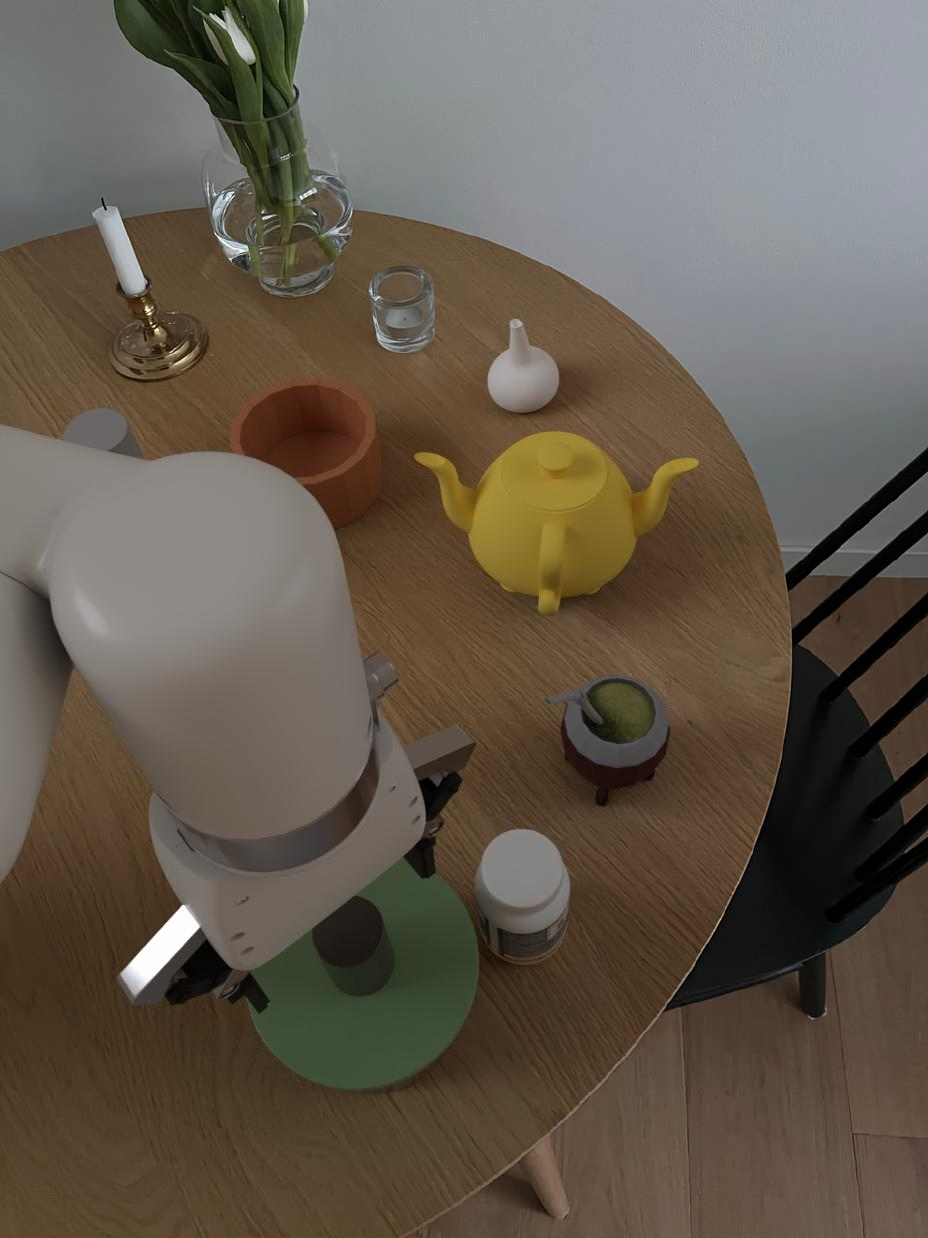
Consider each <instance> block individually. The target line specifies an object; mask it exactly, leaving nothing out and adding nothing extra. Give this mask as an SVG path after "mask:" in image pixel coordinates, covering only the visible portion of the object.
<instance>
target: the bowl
mask: <svg viewBox="0 0 928 1238" xmlns="http://www.w3.org/2000/svg"><path fill="white" fill-rule="evenodd" d="M230 431H231V432H230V440H229V447H230V450H231V453H236V454H240V455H243V456H247V457H251V458H255V459H258V460H260V461H263V462H265V463H267V464H270V465H272V466H274V467H277V468H279V469H280V470H282V471H284V472H285V473H287V474H288V475H290V476H291V477H293V478H294V479H296V480H297V481H298V482H299V483H300V484H301V485H302V486H303V487H304V488H305V489H306V490H307V491H308V492H309V493H310V494H312V495H313V496H314V498H315V499H316V500H317V501H318V503H319V504H320V506H321V507H322V509H323V510H324V512H325V513H326V515H327V517H328V519H329V520H330V522H331V524H332V527H333V529H334V530H335V529H338V528H341V527H343V526H345V525H348V524H349V523H352V522H353V521H355V520H356V519H358V518H359V517H361V516H362V515H364V513H365V512H366V511H368V510H369V509H370V508H371V506H372V505H373V504H374V503H375V501H376V499H378V496H379V495H380V492H381V490H382V486H383V482H384V467H383V466H384V460H383V453H382V447H381V440H380V434H379V428H378V422H377V415H376V413H375V411H374V410H373V408H372V406H371V404H370V403H369V401H368V400H367V398H366V397H365V395H363V394H362V393H360V392H358V391H357V390H356V389H354V388H353V387H351V386H350V385H348V384H347V383H345V382H340V381H336V380H331V379H326V378H323V377H309V378H293V379H290V380H286V381H284V382H281V383H277V384H275V385H272V386H270V387H267V388H265V389H263V390H262V391H260V393H258V394H257V395H255V396H253V398H251V399H250V400H248V401H247V402H246V403H244V405H243V406H242V407H241V408H240V411H239V412H238V414H237V415H236V417H235V418H234V420H233V421H232V424H231V430H230Z"/></svg>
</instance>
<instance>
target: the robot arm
mask: <svg viewBox="0 0 928 1238" xmlns="http://www.w3.org/2000/svg"><path fill="white" fill-rule="evenodd" d="M75 669H77V671H78V672H79V674H80V675H81V677H82V679H83V680H84V682H85V684H86V685H87V687H88V688H89V690H90V691H91V693H92V695H93V697H94V698H95V699H96V701H97V702H98V705H100V707H101V709H102V710H103V712H104V714H105V715H106V717H107V718H108V720H109V721H110V723H111V724H112V726H113V727H114V729H115V731H116V732H117V734H118V735H119V737H120V738H121V740H122V741H123V743H124V745H125V747H126V748H127V750H128V751H129V753H130V754H131V756H132V758H133V759H134V761H135V762H136V764H137V765H138V767H139V768H140V770H141V771H142V773H143V775H144V777H145V778H146V780H147V781H148V783H149V784H150V786H151V788H152V789H153V792H152V794H151V795H150V798H149V805H148V825H149V831H150V838H151V841H152V846H153V849H154V852H155V855H156V857H157V860H158V863H159V866H160V867H161V870H162V871H163V874H164V876H165V878H166V880H167V882H168V883H169V886H170V887H171V889H172V890H173V892H174V894H175V896H176V898H177V899H178V900H179V903H180V904H181V906H180V907H179V908H178V909H177V911H176V912H174V914H173V915H172V916H171V917H170V918H169V919H168V920H167V922H166V923H165V924H163V926H162V927H161V928H160V929H159V930H158V931H157V932H156V934H155V935H154V936H153V937H152V938H151V939H150V940H149V941H148V942H147V943H146V944H145V945H144V946H143V948H142V949H141V950H140V951H139V952H138V953H137V954H136V955H135V957H133V959H132V960H131V961H130V962H129V963H128V964H127V965H126V967H125V968H123V970H121V972H119V974H118V976H116V982H117V983H118V986H120V988H121V990H122V992H123V993H124V994H125V996H126V998H127V999H128V1001H129V1002H130V1004H131V1005H132V1006H133V1007H137V1006H145V1005H153V1004H160V1002H161V1001H162V1000H166V1001H167V1002H168V1004H169V1005H170V1006H176V1005H183V1004H185V1003H187V1002H188V1001H190V1000H194V999H196V998H198V997H201V996H204V995H206V994H208V993H211V994H212V996H213V997H214V998H215V1000H216V1001H218V1002H221V1001H224V1000H227V1001H228V1002H229V1003H230V1004H231V1005H235V1004H236V1003H237V1002H238V1001H239V1000H241V999H242V998H243V997H244V996H245V998H246V997H247V999H248V1000H249V1001H250V1003H251V1004H252V1005H253V1007H254V1008H255V1009H256V1011H257V1012H258V1013H259V1014H260V1013H261V1012H262V1011H264V1010H265V1009H266V1008H267V1007H268V1006H267V1004H268V1003H269V1002H270V1000H269V999H268V997H267V996H266V994H265V993H264V991H263V990H262V989H261V987H260V986H259V984H258V983H257V981H256V980H255V978H254V977H253V976H252V974H251V973H250V970H253V969H255V968H257V967H259V966H261V965H263V964H265V963H266V962H268V961H269V960H271V959H272V958H274V957H275V956H276V955H278V954H279V953H281V952H282V951H283V950H285V949H286V948H287V947H289V946H290V945H291V944H293V943H294V942H295V941H296V940H298V939H299V938H300V937H302V936H303V935H304V934H306V933H307V932H308V931H310V930H311V929H312V928H313V927H315V926H316V925H317V924H319V923H320V922H321V921H322V920H324V919H325V918H326V917H328V916H329V915H330V914H331V913H333V912H334V911H335V910H337V909H338V908H339V907H340V906H342V905H343V904H344V903H345V902H347V901H348V900H349V899H351V898H352V897H353V896H354V895H356V894H357V893H358V892H359V891H361V890H362V889H363V888H365V887H366V886H367V885H368V884H370V883H371V882H372V881H373V880H375V879H376V878H377V877H378V876H380V875H381V874H382V873H383V872H385V871H386V870H387V869H388V868H390V867H391V866H392V865H393V864H394V863H396V862H397V861H398V860H399V859H400V858H402V857H404V858H405V860H406V861H407V862H408V863H409V864H410V866H411V867H412V868H413V869H414V870H415V872H416V873H417V874H418V875H419V876H420V877H421V878H422V879H424V878H427V879H428V878H430V877H431V876H432V875H433V874H435V873H436V874H437V869H436V860H435V852H434V846H436V845H437V839H436V836H437V835H438V834H439V833H440V832H441V831H442V829H444V827H445V826H446V822H447V821H446V820H445V818H443V816H442V815H441V812H442V811H443V810H444V808H445V807H446V806H447V804H448V803H449V801H450V800H451V799H452V797H453V796H454V795H456V794H457V793H458V792H459V791H460V788H461V785H462V783H463V780H464V779H463V778H462V777H461V775H460V772H461V771H463V770H465V768H466V766H467V764H468V763H469V760H470V759H471V756H472V754H473V752H474V751H475V749H476V746H477V743H476V742H475V740H473V738H472V737H471V736H470V735H469V734H468V733H467V732H466V731H465V730H464V729H463V728H462V727H461V726H460V724H458V723H455V724H452V725H450V726H448V727H445V728H443V729H441V730H438V731H435V732H434V733H431V734H429V735H427V736H424V737H422V738H420V739H416V740H415V741H412V742H410V743H407V744H405V745H402V744H401V742H400V740H399V738H398V737H397V735H396V734H395V732H394V730H393V729H392V727H391V726H390V724H389V722H388V720H386V718H385V717H384V715H383V714H382V713H381V712H380V710H379V709H378V708H379V707H381V706H382V705H381V703H380V700H382V699H383V698H384V697H385V692H386V691H388V690H390V688H392V687H393V686H395V685H396V684H398V683H399V682H400V678H399V675H398V673H397V671H396V669H395V667H394V666H393V664H392V663H391V662H390V660H389V658H387V657H386V655H384V654H383V653H382V652H380V651H376V652H374V653H373V654H372V655H370V656H369V657H367V658H366V659H365V660H363V657H362V651H361V647H360V641H359V636H358V630H357V625H356V621H355V615H354V610H353V605H352V600H351V594H350V589H349V585H348V579H347V574H346V568H345V564H344V558H343V556H342V552H341V548H340V544H339V541H338V539H337V535H336V531H335V529H333V527H332V524H331V522H330V520H329V519H328V517H327V515H326V513H325V512H324V510H323V509H322V507H321V506H320V504H319V503H318V501H317V500H316V499H315V498H314V496H313V495H312V494H310V493H309V492H308V491H307V490H306V489H305V488H304V487H303V486H302V485H301V484H300V483H299V482H298V481H297V480H296V479H294V478H293V477H291V476H290V475H288V474H287V473H285V472H284V471H282V470H280V469H279V468H277V467H274V466H272V465H270V464H267V463H265V462H263V461H260V460H258V459H255V458H251V457H247V456H243V455H240V454H236V453H232V452H225V451H216V450H210V451H208V450H206V451H203V450H202V451H189V452H183V453H176V454H169V455H166V456H163V457H159V458H156V459H152V460H151V459H146V458H145V459H141V458H137V457H132V456H127V455H123V454H118V453H113V452H109V451H104V450H99V449H95V448H91V447H87V446H83V445H80V444H76V443H72V442H68V441H64V440H63V439H59V438H56V437H52V436H48V435H44V434H40V433H37V432H33V431H29V430H25V429H23V428H17V427H15V426H11V425H7V424H2V423H0V884H2V883H3V881H4V880H5V879H6V877H7V876H8V875H9V873H10V872H11V870H12V868H13V867H14V866H15V863H16V861H17V859H18V857H19V855H20V853H21V851H22V848H23V846H24V843H25V841H26V838H27V835H28V832H29V829H30V826H31V822H32V818H33V816H34V812H35V809H36V806H37V802H38V799H39V796H40V795H39V794H40V791H41V787H42V784H43V780H44V777H45V773H46V769H47V766H48V763H49V759H50V756H51V751H52V747H53V744H54V740H55V736H56V733H57V729H58V726H59V721H60V719H61V718H60V717H61V714H62V710H63V706H64V702H65V698H66V696H67V691H68V688H69V685H70V680H71V677H72V673H73V671H74V670H75Z"/></svg>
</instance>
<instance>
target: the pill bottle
mask: <svg viewBox="0 0 928 1238" xmlns="http://www.w3.org/2000/svg"><path fill="white" fill-rule="evenodd" d="M571 892H572V891H571V881H570V876H569V872H568V869H567V867H566V864H565V863H564V861H563V858H562V856H561V853H560V851H559V849H558V847H557V846H556V845H555V843H554V842H553V841H552V840H550V838H548V837H547V836H546V835H544V834H543V833H540V832H538V831H537V830H532V829H527V828H515V829H510V830H507V831H504V832H502V833H500V834H498V835H497V836H496V837H494V839H492V840H491V841H490V842H489V844H488V845H487V847H486V848H485V850H484V852H483V854H482V857H481V861H480V863H479V865H478V868H477V869H476V873H475V877H474V897H475V904H476V910H477V912H476V913H477V920H478V921H477V923H478V927H479V930H480V934H481V937H482V939H483V941H484V943H485V944H486V946H487V947H488V948H489V950H490V951H491V952H492V953H493V954H494V955H495V956H497V957H498V958H500V959H501V960H503V961H505V962H507V963H509V964H515V965H521V966H522V965H523V966H524V965H525V966H527V965H533V964H534V965H535V964H538V963H540V962H543V961H545V960H546V959H548V958H550V957H551V956H552V955H553V954H555V953H556V952H557V950H558V949H559V948H560V946H561V945H562V943H563V941H564V940H565V937H566V934H567V930H568V924H569V913H570V912H569V911H570V910H569V909H570V900H571V899H570V897H571Z"/></svg>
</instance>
